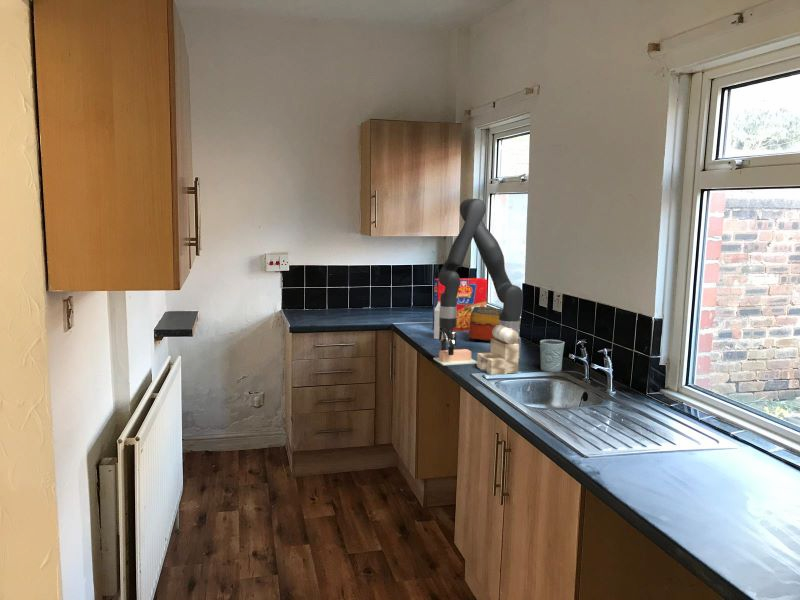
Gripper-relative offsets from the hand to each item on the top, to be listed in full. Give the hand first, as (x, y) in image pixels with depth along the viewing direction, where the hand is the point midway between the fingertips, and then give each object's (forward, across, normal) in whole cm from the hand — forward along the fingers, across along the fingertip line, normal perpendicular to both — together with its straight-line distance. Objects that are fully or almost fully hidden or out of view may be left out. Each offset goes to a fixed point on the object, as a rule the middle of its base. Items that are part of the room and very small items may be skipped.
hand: (447, 352), depth 294 cm
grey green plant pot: (+4, -23, -38) cm, 44 cm away
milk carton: (+4, +48, -17) cm, 51 cm away
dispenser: (+4, -19, -15) cm, 24 cm away
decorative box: (+4, +40, -39) cm, 56 cm away
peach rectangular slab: (+3, 0, -4) cm, 5 cm away
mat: (+4, 0, -4) cm, 6 cm away
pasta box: (+4, +70, -35) cm, 78 cm away
